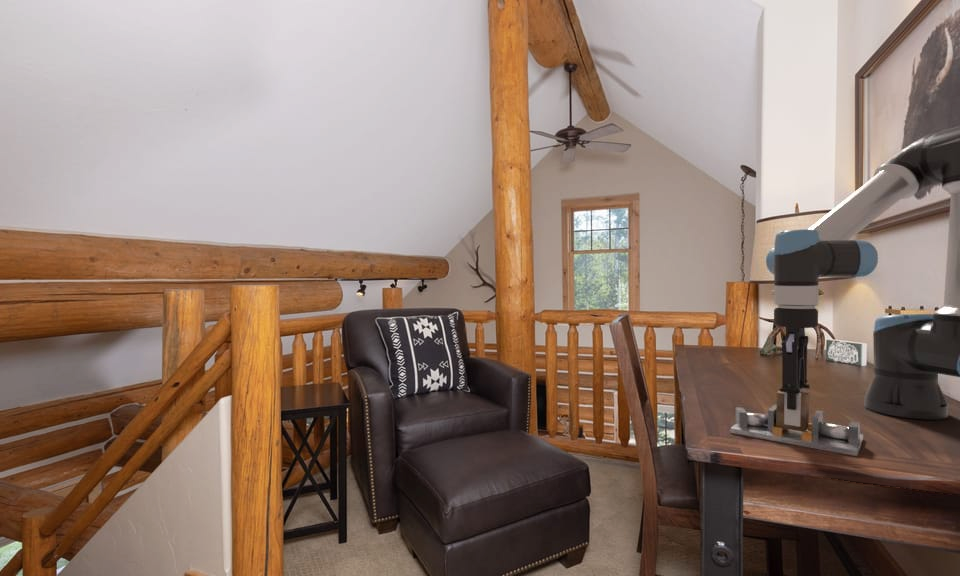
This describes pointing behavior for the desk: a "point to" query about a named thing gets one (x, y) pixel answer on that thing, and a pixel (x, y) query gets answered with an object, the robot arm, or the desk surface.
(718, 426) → the desk surface
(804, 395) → the block
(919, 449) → the desk surface
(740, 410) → the shaft
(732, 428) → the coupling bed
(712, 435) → the desk surface
